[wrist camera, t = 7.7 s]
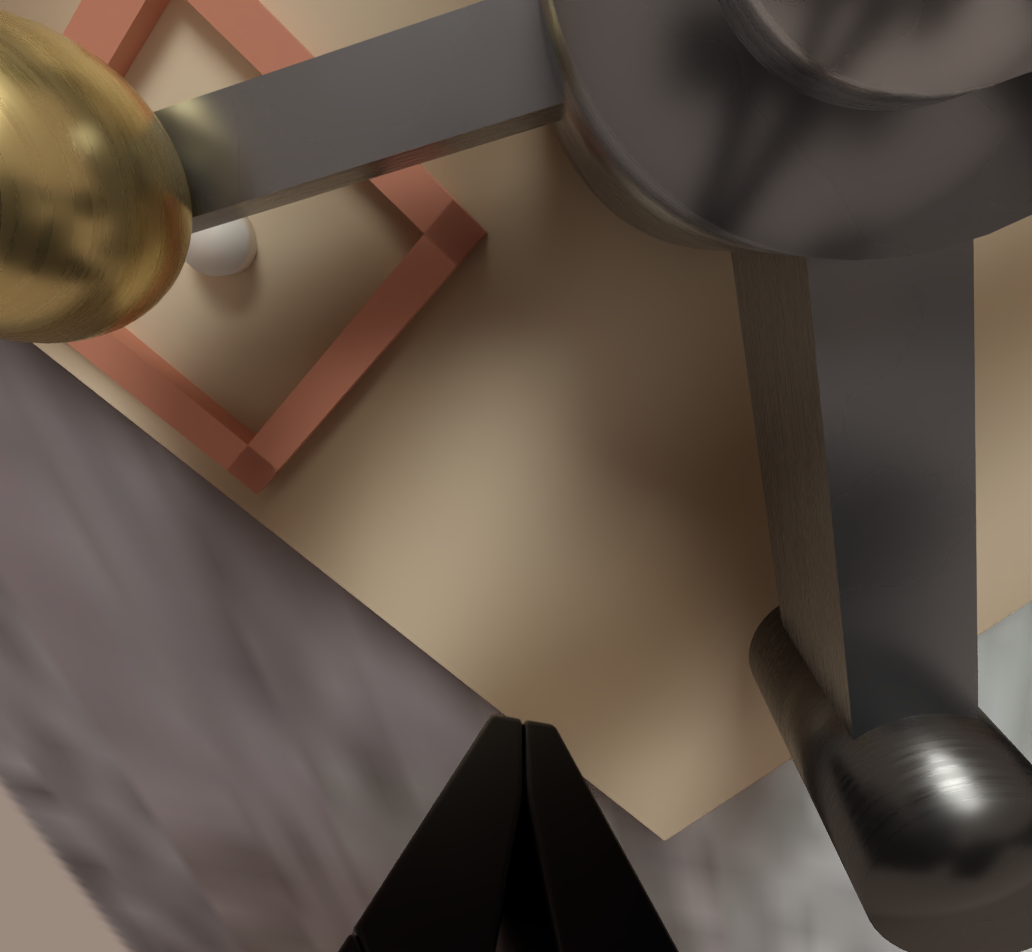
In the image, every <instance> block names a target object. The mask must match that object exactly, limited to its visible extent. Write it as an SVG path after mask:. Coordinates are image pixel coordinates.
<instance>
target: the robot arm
mask: <svg viewBox="0 0 1032 952" xmlns="http://www.w3.org/2000/svg"><path fill="white" fill-rule="evenodd" d="M338 952H679V951H678V949H677V948H676V946H675V944H674V942H673V940H672V938H671V937H670V935H669V933H668V931H667V929H666V927H665V926H664V924H663V922H662V920H661V918H660V917H659V915H658V913H657V911H656V909H655V907H654V906H653V904H652V902H651V900H650V898H649V896H648V895H647V893H646V891H645V889H644V887H643V885H642V884H641V882H640V880H639V878H638V876H637V874H636V873H635V871H634V869H633V867H632V865H631V864H630V862H629V860H628V858H627V856H626V854H625V853H624V851H623V849H622V847H621V845H620V843H619V842H618V840H617V838H616V836H615V834H614V832H613V831H612V829H611V827H610V825H609V823H608V821H607V820H606V818H605V816H604V814H603V812H602V811H601V809H600V807H599V805H598V803H597V801H596V800H595V798H594V796H593V794H592V792H591V790H590V789H589V787H588V785H587V783H586V781H585V779H584V778H583V776H582V774H581V772H580V770H579V768H578V767H577V765H576V763H575V761H574V759H573V758H572V756H571V754H570V752H569V750H568V748H567V747H566V745H565V743H564V741H563V739H562V737H561V736H560V734H559V732H558V730H557V729H556V727H555V726H554V725H552V724H548V723H542V722H537V721H531V720H527V721H525V722H524V723H523V724H522V722H521V720H520V719H518V718H514V717H508V716H503V715H497V714H494V715H492V716H491V717H490V718H489V719H488V721H487V722H486V724H485V725H484V727H483V728H482V730H481V731H480V733H479V735H478V736H477V738H476V739H475V741H474V742H473V744H472V745H471V747H470V749H469V750H468V752H467V753H466V755H465V756H464V758H463V759H462V761H461V762H460V764H459V766H458V767H457V769H456V770H455V772H454V773H453V775H452V776H451V778H450V780H449V781H448V783H447V784H446V786H445V787H444V789H443V790H442V792H441V794H440V795H439V797H438V798H437V800H436V801H435V803H434V804H433V806H432V808H431V809H430V811H429V812H428V814H427V815H426V817H425V818H424V820H423V822H422V823H421V825H420V826H419V828H418V829H417V831H416V832H415V834H414V836H413V837H412V839H411V840H410V842H409V843H408V845H407V846H406V848H405V850H404V851H403V853H402V854H401V856H400V857H399V859H398V860H397V862H396V864H395V865H394V867H393V868H392V870H391V871H390V873H389V874H388V876H387V878H386V879H385V881H384V882H383V884H382V885H381V887H380V888H379V890H378V891H377V893H376V895H375V896H374V898H373V899H372V901H371V902H370V904H369V905H368V907H367V909H366V910H365V912H364V913H363V915H362V916H361V918H360V919H359V921H358V923H357V924H356V926H355V927H354V930H353V935H349V936H348V937H347V939H346V940H345V942H344V944H343V945H342V947H341V948H340V950H339V951H338Z"/></svg>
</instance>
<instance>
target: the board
mask: <svg viewBox="0 0 1032 952" xmlns="http://www.w3.org/2000/svg"><path fill="white" fill-rule="evenodd" d="M259 1H260V2H261V3H262V4H263V5H264V6H265V7H266V8H267V9H268V10H269V11H270V12H271V13H272V14H273V15H274V16H275V17H276V18H277V19H278V20H279V21H280V22H281V23H282V24H283V25H284V26H285V27H286V28H287V29H288V30H289V31H290V32H291V33H292V34H293V35H294V36H295V38H296V39H297V40H298V41H299V42H300V43H301V44H302V45H303V46H304V47H305V48H306V49H307V50H308V51H309V52H310V53H311V54H312V55H313V56H314V57H318V56H321V55H324V54H326V53H329V52H332V51H335V50H338V49H341V48H344V47H347V46H350V45H353V44H356V43H359V42H362V41H365V40H368V39H371V38H374V37H377V36H380V35H383V34H386V33H389V32H392V31H395V30H398V29H401V28H404V27H406V26H409V25H412V24H415V23H418V22H421V21H424V20H427V19H430V18H433V17H436V16H439V15H442V14H445V13H448V12H451V11H454V10H457V9H460V8H463V7H466V6H469V5H472V4H475V3H478V2H481V1H483V0H259ZM80 2H81V0H0V10H4V11H7V12H10V13H13V14H16V15H19V16H22V17H25V18H27V19H30V20H33V21H36V22H38V23H41V24H43V25H45V26H47V27H49V28H51V29H53V30H54V31H56V32H58V33H60V34H63V33H64V31H65V29H66V27H67V25H68V24H69V22H70V20H71V18H72V17H73V15H74V13H75V11H76V9H77V8H78V6H79V4H80ZM261 75H262V74H261V73H260V72H259V71H258V70H257V69H256V68H255V67H254V66H253V65H252V64H251V63H250V62H249V61H248V60H247V59H246V58H245V57H244V56H243V55H242V54H241V53H240V52H239V51H238V50H237V49H236V48H235V47H234V46H233V45H232V44H231V43H230V42H229V41H228V40H227V39H226V38H225V37H224V36H223V35H222V34H220V33H219V32H218V31H217V30H216V29H215V28H214V27H213V26H212V25H211V24H210V23H209V22H208V21H207V20H206V19H205V18H204V17H203V16H202V15H201V14H200V13H199V12H198V11H197V10H196V9H195V8H194V7H193V6H192V5H191V4H190V3H189V2H188V1H187V0H170V2H169V4H168V5H167V7H166V8H165V10H164V12H163V13H162V15H161V17H160V18H159V20H158V22H157V23H156V25H155V27H154V28H153V30H152V32H151V33H150V35H149V37H148V38H147V40H146V42H145V43H144V45H143V47H142V48H141V50H140V52H139V53H138V55H137V57H136V58H135V60H134V62H133V63H132V65H131V67H130V68H129V70H128V72H127V73H126V75H125V77H124V79H125V80H126V81H127V82H128V83H129V84H130V85H131V86H132V87H133V88H134V89H135V91H136V92H137V93H138V94H139V95H140V96H141V97H142V98H143V99H144V101H145V102H146V103H147V104H148V105H149V107H150V108H151V109H152V111H153V112H155V111H158V110H161V109H164V108H167V107H170V106H172V105H175V104H178V103H181V102H184V101H187V100H190V99H193V98H196V97H199V96H202V95H205V94H208V93H211V92H214V91H217V90H220V89H223V88H226V87H229V86H232V85H235V84H238V83H241V82H244V81H247V80H249V79H252V78H255V77H258V76H261ZM421 165H422V166H423V167H424V168H425V169H426V170H427V171H428V172H429V173H430V174H431V175H432V176H433V177H434V178H435V179H436V180H437V181H438V182H439V183H440V184H441V185H442V186H443V187H444V188H445V189H446V190H447V191H448V192H449V193H450V194H451V196H452V197H453V198H454V199H455V200H456V201H457V202H458V203H459V204H460V205H461V206H462V207H463V208H464V209H465V210H466V211H467V212H468V213H469V214H470V215H471V216H472V217H473V218H474V219H475V220H476V221H477V222H478V223H479V224H480V225H481V226H482V227H483V228H484V229H485V230H486V231H487V232H488V233H487V234H486V235H485V236H484V237H483V238H482V240H481V241H480V242H479V243H478V244H477V245H476V247H475V248H474V249H473V250H472V251H471V252H470V253H469V255H468V256H467V257H466V258H465V259H464V260H463V261H462V263H461V264H460V265H459V266H458V267H457V268H456V269H455V271H454V272H453V273H452V274H451V275H450V276H449V277H448V279H447V280H446V281H445V282H444V283H443V284H442V285H441V287H440V288H439V289H438V290H437V291H436V292H435V294H434V295H433V296H432V297H431V298H430V299H429V300H428V302H427V303H426V304H425V305H424V306H423V307H422V308H421V310H420V311H419V312H418V313H417V314H416V315H415V316H414V318H413V319H412V320H411V321H410V322H409V323H408V324H407V326H406V327H405V328H404V329H403V330H402V331H401V332H400V334H399V335H398V336H397V337H396V338H395V339H394V341H393V342H392V343H391V344H390V345H389V346H388V347H387V349H386V350H385V351H384V352H383V353H382V354H381V355H380V357H379V358H378V359H377V360H376V361H375V362H374V363H373V365H372V366H371V367H370V368H369V369H368V370H367V371H366V373H365V374H364V375H363V376H362V377H361V378H360V379H359V381H358V382H357V383H356V384H355V385H354V386H353V388H352V389H351V390H350V391H349V392H348V393H347V394H346V396H345V397H344V398H343V399H342V400H341V401H340V402H339V404H338V405H337V406H336V407H335V408H334V409H333V410H332V412H331V413H330V414H329V415H328V416H327V417H326V418H325V420H324V421H323V422H322V423H321V424H320V425H319V426H318V428H317V429H316V430H315V431H314V432H313V433H312V435H311V436H310V437H309V438H308V439H307V440H306V441H305V443H304V444H303V445H302V446H301V447H300V448H299V449H298V451H297V452H296V453H295V454H294V455H293V456H292V457H291V459H290V460H289V461H288V462H287V463H286V464H285V465H284V467H283V468H282V469H281V470H280V471H279V472H278V473H277V475H276V476H275V477H274V478H273V479H272V480H271V482H270V483H269V484H268V485H267V486H266V487H265V488H264V489H263V490H261V491H260V492H259V493H258V494H256V493H254V492H253V491H252V490H251V489H249V488H248V487H247V486H246V485H244V484H243V483H242V482H240V481H239V480H238V479H237V478H235V477H234V476H233V475H232V474H230V473H229V472H228V471H227V470H225V469H224V468H223V467H222V466H220V465H219V464H218V463H217V462H215V461H214V460H213V459H212V458H210V457H209V456H208V455H207V454H205V453H204V452H203V451H202V450H200V449H199V448H198V447H197V446H195V445H194V444H193V443H192V442H190V441H189V440H188V439H187V438H185V437H184V436H183V435H182V434H180V433H179V432H178V431H177V430H175V429H174V428H173V427H172V426H170V425H169V424H168V423H167V422H165V421H164V420H163V419H162V418H160V417H159V416H158V415H157V414H155V413H154V412H153V411H152V410H150V409H149V408H148V407H147V406H145V405H144V404H143V403H142V402H140V401H139V400H138V399H137V398H135V397H134V396H133V395H132V394H130V393H129V392H128V391H127V390H125V389H124V388H123V387H122V386H120V385H119V384H118V383H117V382H115V381H114V380H113V379H112V378H110V377H109V376H108V375H107V374H105V373H104V372H103V371H102V370H100V369H99V368H98V367H97V366H95V365H94V364H93V363H92V362H90V361H89V360H88V359H87V358H85V357H84V356H83V355H82V354H80V353H79V352H78V351H77V350H75V349H74V348H73V347H72V346H70V345H69V344H68V343H67V342H66V343H50V344H47V343H33V344H35V345H36V346H37V347H38V348H40V349H41V350H42V351H44V352H45V353H46V354H47V355H49V356H50V357H51V358H52V359H54V360H55V361H56V362H58V363H59V364H60V365H61V366H63V367H64V368H65V369H66V370H68V371H69V372H70V373H71V374H73V375H74V376H75V377H77V378H78V379H79V380H80V381H82V382H83V383H84V384H85V385H87V386H88V387H89V388H90V389H92V390H93V391H94V392H96V393H97V394H98V395H99V396H101V397H102V398H103V399H104V400H106V401H107V402H108V403H110V404H111V405H112V406H113V407H115V408H116V409H117V410H118V411H120V412H121V413H122V414H123V415H125V416H126V417H127V418H129V419H130V420H131V421H132V422H134V423H135V424H136V425H137V426H139V427H140V428H141V429H143V430H144V431H145V432H146V433H148V434H149V435H150V436H151V437H153V438H154V439H155V440H156V441H158V442H159V443H160V444H162V445H163V446H164V447H165V448H167V449H168V450H169V451H170V452H172V453H173V454H174V455H176V456H177V457H178V458H179V459H181V460H182V461H183V462H184V463H186V464H187V465H188V466H189V467H191V468H192V469H193V470H195V471H196V472H197V473H198V474H200V475H201V476H202V477H203V478H205V479H206V480H207V481H209V482H210V483H211V484H212V485H214V486H215V487H216V488H217V489H219V490H220V491H221V492H222V493H224V494H225V495H226V496H228V497H229V498H230V499H231V500H233V501H234V502H235V503H236V504H238V505H239V506H240V507H241V508H243V509H244V510H245V511H247V512H248V513H249V514H250V515H252V516H253V517H254V518H255V519H257V520H258V521H259V522H261V523H262V524H263V525H264V526H266V527H267V528H268V529H269V530H271V531H272V532H273V533H274V534H276V535H277V536H278V537H280V538H281V539H282V540H283V541H285V542H286V543H287V544H288V545H290V546H291V547H292V548H294V549H295V550H296V551H297V552H299V553H300V554H301V555H302V556H304V557H305V558H306V559H307V560H309V561H310V562H311V563H313V564H314V565H315V566H316V567H318V568H319V569H320V570H321V571H323V572H324V573H325V574H327V575H328V576H329V577H330V578H332V579H333V580H334V581H335V582H337V583H338V584H339V585H340V586H342V587H343V588H344V589H346V590H347V591H348V592H349V593H351V594H352V595H353V596H354V597H356V598H357V599H358V600H360V601H361V602H362V603H363V604H365V605H366V606H367V607H368V608H370V609H371V610H372V611H373V612H375V613H376V614H377V615H379V616H380V617H381V618H382V619H384V620H385V621H386V622H387V623H389V624H390V625H391V626H392V627H394V628H395V629H396V630H398V631H399V632H400V633H401V634H403V635H404V636H405V637H406V638H408V639H409V640H410V641H412V642H413V643H414V644H415V645H417V646H418V647H419V648H420V649H422V650H423V651H424V652H425V653H427V654H428V655H429V656H431V657H432V658H433V659H434V660H436V661H437V662H438V663H439V664H441V665H442V666H443V667H445V668H446V669H447V670H448V671H450V672H451V673H452V674H453V675H455V676H456V677H457V678H458V679H460V680H461V681H462V682H464V683H465V684H466V685H467V686H469V687H470V688H471V689H472V690H474V691H475V692H476V693H478V694H479V695H480V696H481V697H483V698H484V699H485V700H486V701H488V702H489V703H490V704H491V705H493V706H494V707H495V708H497V709H498V710H499V711H500V712H502V713H503V714H504V715H505V716H508V717H514V718H518V719H520V720H521V722H522V724H523V723H524V722H525V721H527V720H531V721H537V722H542V723H548V724H552V725H554V726H555V727H556V729H557V730H558V732H559V734H560V736H561V737H562V739H563V741H564V743H565V745H566V747H567V748H568V750H569V752H570V754H571V756H572V758H573V759H574V761H575V763H576V765H577V767H578V768H579V770H580V772H581V774H582V776H583V777H584V778H585V779H587V780H588V781H589V782H590V783H592V784H593V785H594V786H596V787H597V788H598V789H599V790H601V791H602V792H603V793H604V794H606V795H607V796H608V797H609V798H611V799H612V800H613V801H615V802H616V803H617V804H618V805H620V806H621V807H622V808H623V809H625V810H626V811H627V812H629V813H630V814H631V815H632V816H634V817H635V818H636V819H637V820H639V821H640V822H641V823H642V824H644V825H645V826H646V827H648V828H649V829H650V830H651V831H653V832H654V833H655V834H656V835H658V836H659V837H660V838H661V839H663V840H664V841H666V840H667V839H669V838H670V837H672V836H673V835H675V834H676V833H678V832H679V831H681V830H683V829H684V828H686V827H687V826H689V825H690V824H692V823H693V822H695V821H696V820H698V819H699V818H701V817H702V816H704V815H705V814H707V813H708V812H710V811H711V810H713V809H715V808H716V807H718V806H719V805H721V804H722V803H724V802H725V801H727V800H728V799H730V798H731V797H733V796H734V795H736V794H737V793H739V792H740V791H742V790H744V789H745V788H747V787H748V786H750V785H751V784H753V783H754V782H756V781H757V780H759V779H760V778H762V777H763V776H765V775H766V774H768V773H769V772H771V771H772V770H774V769H776V768H777V767H779V766H780V765H782V764H783V763H785V762H786V761H788V760H789V759H791V758H792V757H791V755H790V753H789V750H788V748H787V746H786V744H785V742H784V740H783V738H782V736H781V734H780V732H779V729H778V727H777V725H776V723H775V721H774V719H773V717H772V715H771V713H770V711H769V708H768V706H767V704H766V702H765V700H764V698H763V696H762V694H761V692H760V690H759V687H758V685H757V683H756V681H755V679H754V677H753V675H752V672H751V669H750V665H749V648H750V644H751V640H752V638H753V635H754V633H755V631H756V629H757V628H758V626H759V624H760V623H761V622H762V621H763V619H764V618H765V617H766V616H767V615H768V614H769V613H770V612H771V611H772V610H773V609H775V608H776V607H777V606H778V605H779V600H778V593H777V586H776V578H775V571H774V564H773V556H772V549H771V542H770V534H769V527H768V520H767V512H766V505H765V498H764V490H763V483H762V476H761V468H760V461H759V454H758V447H757V439H756V432H755V425H754V417H753V410H752V403H751V395H750V388H749V381H748V373H747V366H746V359H745V351H744V344H743V337H742V330H741V322H740V315H739V308H738V300H737V293H736V286H735V278H734V271H733V264H732V256H731V251H719V250H706V249H694V248H689V247H685V246H680V245H675V244H671V243H668V242H666V241H663V240H660V239H658V238H655V237H652V236H650V235H648V234H646V233H644V232H642V231H640V230H639V229H637V228H635V227H633V226H631V225H629V224H628V223H626V222H625V221H624V220H623V219H621V218H620V217H619V216H617V215H616V214H615V213H613V212H612V211H611V210H609V209H608V208H607V207H606V206H605V205H604V204H603V203H602V202H601V201H600V200H599V199H598V198H597V197H596V196H595V195H594V194H593V193H592V192H591V191H590V189H589V188H588V187H587V185H586V184H585V183H584V181H583V180H582V179H581V177H580V176H579V175H578V174H577V172H576V171H575V169H574V167H573V165H572V164H571V162H570V160H569V158H568V157H567V155H566V153H565V151H564V150H563V148H562V145H561V143H560V141H559V138H558V136H557V133H556V131H555V129H554V126H553V124H552V123H551V124H548V125H545V126H541V127H538V128H535V129H531V130H528V131H525V132H522V133H518V134H515V135H512V136H509V137H505V138H502V139H499V140H496V141H492V142H489V143H486V144H483V145H479V146H476V147H473V148H469V149H466V150H463V151H460V152H456V153H453V154H450V155H447V156H443V157H440V158H437V159H434V160H430V161H427V162H424V163H421ZM247 218H248V219H249V220H250V222H251V223H252V225H253V228H254V230H255V233H256V237H257V251H256V255H255V258H254V260H253V262H252V263H251V264H250V266H249V267H248V268H247V269H245V270H244V271H242V272H240V273H237V274H232V275H224V276H209V275H205V274H202V273H200V272H198V271H197V270H195V269H193V268H192V267H191V266H190V265H189V264H188V263H187V262H186V261H185V263H184V265H183V267H182V270H181V272H180V274H179V276H178V278H177V279H176V281H175V283H174V284H173V286H172V287H171V289H170V290H169V291H168V292H167V293H166V295H165V296H164V297H163V298H162V299H161V300H160V301H159V302H158V304H157V305H156V306H155V307H153V308H152V309H151V310H150V311H148V312H147V313H146V314H145V315H143V316H142V317H140V318H139V319H137V320H135V321H134V322H132V323H130V324H128V325H127V326H125V328H126V329H128V330H129V331H130V332H131V333H132V334H134V335H135V336H136V337H137V338H139V339H140V340H141V341H142V342H143V343H145V344H146V345H147V346H148V347H149V348H151V349H152V350H153V351H154V352H156V353H157V354H158V355H159V356H160V357H162V358H163V359H164V360H165V361H166V362H168V363H169V364H170V365H171V366H173V367H174V368H175V369H176V370H177V371H179V372H180V373H181V374H182V375H183V376H185V377H186V378H187V379H188V380H190V381H191V382H192V383H193V384H194V385H196V386H197V387H198V388H199V389H200V390H202V391H203V392H204V393H205V394H207V395H208V396H209V397H210V398H211V399H213V400H214V401H215V402H216V403H217V404H219V405H220V406H221V407H222V408H223V409H225V410H226V411H227V412H228V413H230V414H231V415H232V416H233V417H234V418H236V419H237V420H238V421H239V422H240V423H242V424H243V425H244V426H245V427H247V428H248V429H249V430H250V431H251V432H253V433H254V434H255V435H256V434H257V433H258V432H259V431H260V430H261V428H262V427H263V426H264V425H265V424H266V422H267V421H268V420H269V419H270V418H271V416H272V415H273V414H274V413H275V412H276V410H277V409H278V408H279V407H280V406H281V404H282V403H283V402H284V401H285V400H286V398H287V397H288V396H289V395H290V394H291V392H292V391H293V390H294V389H295V388H296V387H297V385H298V384H299V383H300V382H301V381H302V379H303V378H304V377H305V376H306V375H307V373H308V372H309V371H310V370H311V369H312V367H313V366H314V365H315V364H316V363H317V361H318V360H319V359H320V358H321V357H322V355H323V354H324V353H325V352H326V351H327V349H328V348H329V347H330V346H331V345H332V343H333V342H334V341H335V340H336V339H337V337H338V336H339V335H340V334H341V333H342V331H343V330H344V329H345V328H346V327H347V325H348V324H349V323H350V322H351V321H352V319H353V318H354V317H355V316H356V315H357V313H358V312H359V311H360V310H361V309H362V308H363V306H364V305H365V304H366V303H367V302H368V300H369V299H370V298H371V297H372V296H373V294H374V293H375V292H376V291H377V290H378V288H379V287H380V286H381V285H382V284H383V282H384V281H385V280H386V279H387V278H388V276H389V275H390V274H391V273H392V272H393V270H394V269H395V268H396V267H397V266H398V264H399V263H400V262H401V261H402V260H403V258H404V257H405V256H406V255H407V254H408V252H409V251H410V250H411V249H412V248H413V246H414V245H415V244H416V243H417V242H418V240H419V239H420V238H421V237H422V236H423V234H424V233H423V232H422V231H421V230H420V229H419V228H418V227H417V226H416V225H415V224H414V223H413V222H412V221H411V220H410V219H409V218H408V217H407V216H406V215H405V214H404V213H403V212H402V211H401V210H400V209H399V208H398V207H397V206H396V205H395V204H394V203H393V202H392V201H391V200H389V199H388V198H387V197H386V196H385V195H384V194H383V193H382V192H381V191H380V190H379V189H378V188H377V187H376V186H375V185H374V184H373V183H372V182H371V181H370V180H369V179H368V180H365V181H362V182H359V183H355V184H352V185H349V186H345V187H342V188H339V189H336V190H332V191H329V192H326V193H323V194H319V195H316V196H313V197H310V198H306V199H303V200H300V201H297V202H293V203H290V204H287V205H283V206H280V207H277V208H274V209H270V210H267V211H264V212H261V213H257V214H254V215H251V216H248V217H247ZM974 342H975V447H976V551H977V636H978V635H980V634H981V633H983V632H984V631H986V630H987V629H989V628H990V627H992V626H994V625H995V624H997V623H998V622H1000V621H1001V620H1003V619H1004V618H1006V617H1007V616H1009V615H1010V614H1012V613H1013V612H1015V611H1016V610H1018V609H1019V608H1021V607H1022V606H1024V605H1026V604H1027V603H1029V602H1030V601H1032V215H1030V216H1028V217H1026V218H1024V219H1021V220H1019V221H1017V222H1015V223H1013V224H1010V225H1008V226H1006V227H1004V228H1002V229H999V230H997V231H995V232H993V233H990V234H988V235H985V236H982V237H979V238H976V239H974Z"/></svg>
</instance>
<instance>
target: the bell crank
mask: <svg viewBox="0 0 1032 952" xmlns="http://www.w3.org/2000/svg"><path fill="white" fill-rule="evenodd" d="M551 123H552V124H553V126H554V129H555V131H556V133H557V136H558V138H559V141H560V143H561V145H562V148H563V150H564V151H565V153H566V155H567V157H568V158H569V160H570V162H571V164H572V165H573V167H574V169H575V171H576V172H577V174H578V175H579V176H580V177H581V179H582V180H583V181H584V183H585V184H586V185H587V187H588V188H589V189H590V191H591V192H592V193H593V194H594V195H595V196H596V197H597V198H598V199H599V200H600V201H601V202H602V203H603V204H604V205H605V206H606V207H607V208H608V209H609V210H611V211H612V212H613V213H615V214H616V215H617V216H619V217H620V218H621V219H623V220H624V221H625V222H626V223H628V224H629V225H631V226H633V227H635V228H637V229H639V230H640V231H642V232H644V233H646V234H648V235H650V236H652V237H655V238H658V239H660V240H663V241H666V242H668V243H671V244H675V245H680V246H685V247H689V248H694V249H706V250H719V251H731V256H732V264H733V271H734V278H735V286H736V293H737V300H738V308H739V315H740V322H741V330H742V337H743V344H744V351H745V359H746V366H747V373H748V381H749V388H750V395H751V403H752V410H753V417H754V425H755V432H756V439H757V447H758V454H759V461H760V468H761V476H762V483H763V490H764V498H765V505H766V512H767V520H768V527H769V534H770V542H771V549H772V556H773V564H774V571H775V578H776V586H777V593H778V600H779V605H778V606H777V607H776V608H775V609H773V610H772V611H771V612H770V613H769V614H768V615H767V616H766V617H765V618H764V619H763V621H762V622H761V623H760V624H759V626H758V628H757V629H756V631H755V633H754V635H753V638H752V640H751V644H750V648H749V665H750V669H751V672H752V675H753V677H754V679H755V681H756V683H757V685H758V687H759V690H760V692H761V694H762V696H763V698H764V700H765V702H766V704H767V706H768V708H769V711H770V713H771V715H772V717H773V719H774V721H775V723H776V725H777V727H778V729H779V732H780V734H781V736H782V738H783V740H784V742H785V744H786V746H787V748H788V750H789V753H790V755H791V757H792V759H793V761H794V763H795V765H796V767H797V769H798V771H799V773H800V776H801V778H802V780H803V782H804V784H805V786H806V788H807V790H808V792H809V794H810V797H811V799H812V801H813V803H814V805H815V807H816V809H817V811H818V813H819V815H820V818H821V820H822V822H823V824H824V826H825V828H826V830H827V832H828V834H829V836H830V839H831V841H832V843H833V845H834V847H835V849H836V851H837V853H838V855H839V857H840V860H841V862H842V864H843V866H844V868H845V870H846V872H847V874H848V876H849V878H850V880H851V883H852V885H853V887H854V889H855V891H856V893H857V895H858V897H859V899H860V901H861V904H862V906H863V908H864V910H865V912H866V914H867V916H868V918H869V920H870V922H871V923H872V925H873V926H874V928H875V929H876V930H877V931H878V932H879V933H880V934H881V935H882V936H883V937H884V938H885V939H886V940H888V941H889V942H890V943H892V944H894V945H895V946H897V947H899V948H901V949H903V950H905V951H908V952H1021V951H1024V950H1027V949H1029V948H1032V764H1031V763H1030V762H1029V761H1028V760H1027V759H1026V758H1025V757H1024V755H1023V754H1022V753H1021V752H1020V751H1019V750H1018V749H1017V748H1016V747H1015V746H1014V745H1013V744H1012V742H1011V741H1010V740H1009V739H1008V738H1007V737H1006V736H1005V735H1004V734H1003V733H1002V732H1001V731H1000V730H999V728H998V727H997V726H996V725H995V724H994V723H993V722H992V721H991V720H990V719H989V718H988V717H987V715H986V714H985V713H984V712H983V711H982V710H981V709H980V708H979V707H978V656H977V551H976V447H975V342H974V239H976V238H979V237H982V236H985V235H988V234H990V233H993V232H995V231H997V230H999V229H1002V228H1004V227H1006V226H1008V225H1010V224H1013V223H1015V222H1017V221H1019V220H1021V219H1024V218H1026V217H1028V216H1030V215H1032V0H483V1H481V2H478V3H475V4H472V5H469V6H466V7H463V8H460V9H457V10H454V11H451V12H448V13H445V14H442V15H439V16H436V17H433V18H430V19H427V20H424V21H421V22H418V23H415V24H412V25H409V26H406V27H404V28H401V29H398V30H395V31H392V32H389V33H386V34H383V35H380V36H377V37H374V38H371V39H368V40H365V41H362V42H359V43H356V44H353V45H350V46H347V47H344V48H341V49H338V50H335V51H332V52H329V53H326V54H324V55H321V56H318V57H315V58H312V59H309V60H306V61H303V62H300V63H297V64H294V65H291V66H288V67H285V68H282V69H279V70H276V71H273V72H270V73H267V74H264V75H261V76H258V77H255V78H252V79H249V80H247V81H244V82H241V83H238V84H235V85H232V86H229V87H226V88H223V89H220V90H217V91H214V92H211V93H208V94H205V95H202V96H199V97H196V98H193V99H190V100H187V101H184V102H181V103H178V104H175V105H172V106H170V107H167V108H164V109H161V110H158V111H155V112H153V111H152V109H151V108H150V107H149V105H148V104H147V103H146V102H145V101H144V99H143V98H142V97H141V96H140V95H139V94H138V93H137V92H136V91H135V89H134V88H133V87H132V86H131V85H130V84H129V83H128V82H127V81H126V80H125V79H124V78H123V77H122V76H121V75H119V74H118V73H117V72H116V71H115V70H114V69H113V68H111V67H110V66H109V65H108V64H107V63H105V62H104V61H103V60H101V59H100V58H99V57H98V56H96V55H95V54H93V53H92V52H90V51H89V50H87V49H86V48H85V47H83V46H82V45H80V44H79V43H77V42H75V41H73V40H72V39H70V38H68V37H66V36H64V35H62V34H60V33H58V32H56V31H54V30H53V29H51V28H49V27H47V26H45V25H43V24H41V23H38V22H36V21H33V20H30V19H27V18H25V17H22V16H19V15H16V14H13V13H10V12H7V11H4V10H0V338H1V339H6V340H11V341H16V342H30V343H47V344H50V343H66V342H74V341H81V340H86V339H91V338H96V337H99V336H102V335H105V334H108V333H110V332H113V331H116V330H118V329H121V328H123V327H125V326H127V325H128V324H130V323H132V322H134V321H135V320H137V319H139V318H140V317H142V316H143V315H145V314H146V313H147V312H148V311H150V310H151V309H152V308H153V307H155V306H156V305H157V304H158V302H159V301H160V300H161V299H162V298H163V297H164V296H165V295H166V293H167V292H168V291H169V290H170V289H171V287H172V286H173V284H174V283H175V281H176V279H177V278H178V276H179V274H180V272H181V270H182V267H183V265H184V263H185V260H186V256H187V253H188V249H189V245H190V240H191V234H192V233H195V232H199V231H202V230H205V229H208V228H212V227H215V226H218V225H221V224H225V223H228V222H231V221H235V220H238V219H241V218H244V217H248V216H251V215H254V214H257V213H261V212H264V211H267V210H270V209H274V208H277V207H280V206H283V205H287V204H290V203H293V202H297V201H300V200H303V199H306V198H310V197H313V196H316V195H319V194H323V193H326V192H329V191H332V190H336V189H339V188H342V187H345V186H349V185H352V184H355V183H359V182H362V181H365V180H368V179H372V178H375V177H378V176H381V175H385V174H388V173H391V172H394V171H398V170H401V169H404V168H407V167H411V166H414V165H417V164H421V163H424V162H427V161H430V160H434V159H437V158H440V157H443V156H447V155H450V154H453V153H456V152H460V151H463V150H466V149H469V148H473V147H476V146H479V145H483V144H486V143H489V142H492V141H496V140H499V139H502V138H505V137H509V136H512V135H515V134H518V133H522V132H525V131H528V130H531V129H535V128H538V127H541V126H545V125H548V124H551Z"/></svg>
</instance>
